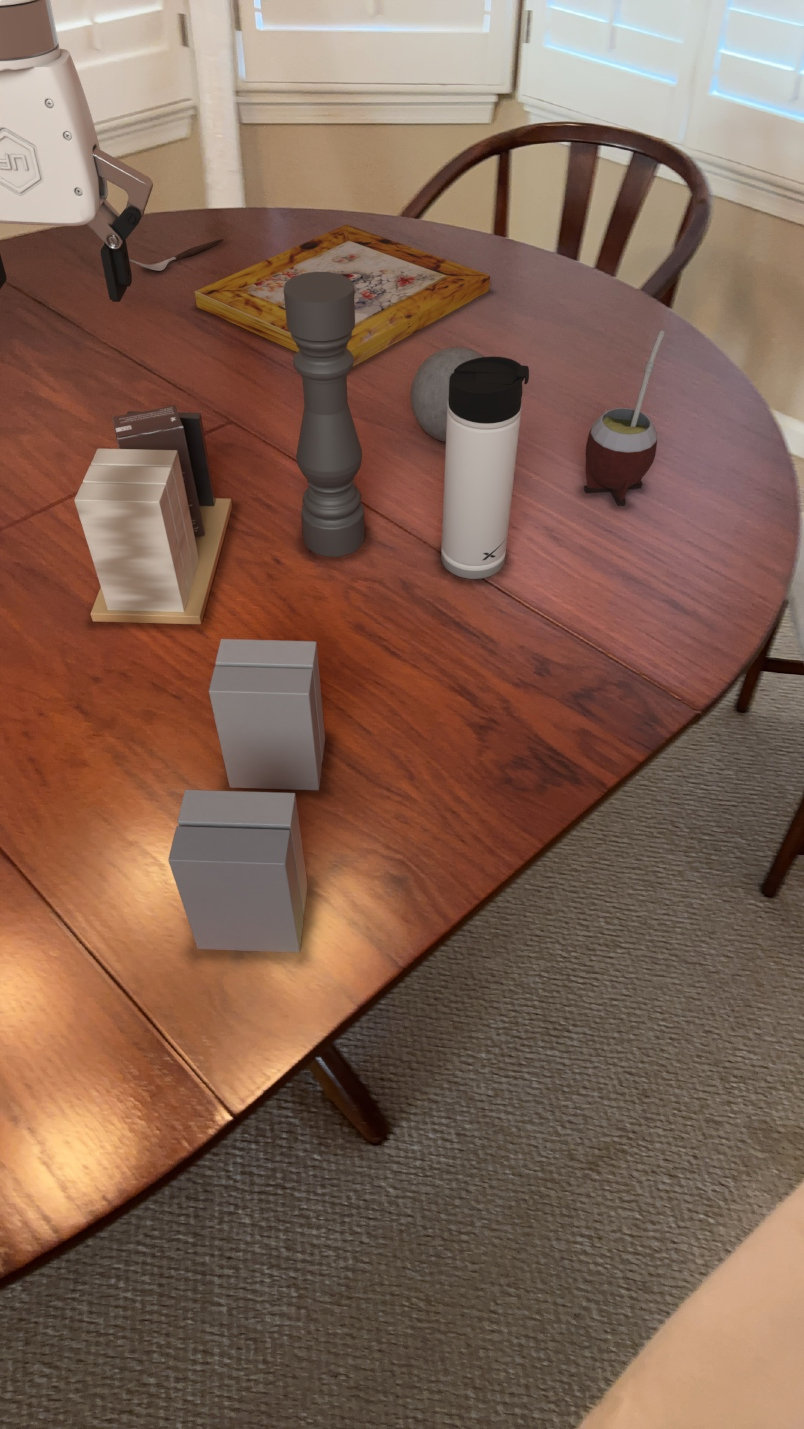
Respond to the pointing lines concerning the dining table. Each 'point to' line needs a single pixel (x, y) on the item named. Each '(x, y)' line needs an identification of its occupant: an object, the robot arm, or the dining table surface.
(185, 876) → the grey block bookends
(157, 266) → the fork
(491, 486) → the travel mug
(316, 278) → the candle holder
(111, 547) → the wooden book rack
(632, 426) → the mate gourd
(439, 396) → the decorative ball
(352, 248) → the picture frame
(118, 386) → the dining table surface
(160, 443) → the box
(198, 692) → the dining table surface
